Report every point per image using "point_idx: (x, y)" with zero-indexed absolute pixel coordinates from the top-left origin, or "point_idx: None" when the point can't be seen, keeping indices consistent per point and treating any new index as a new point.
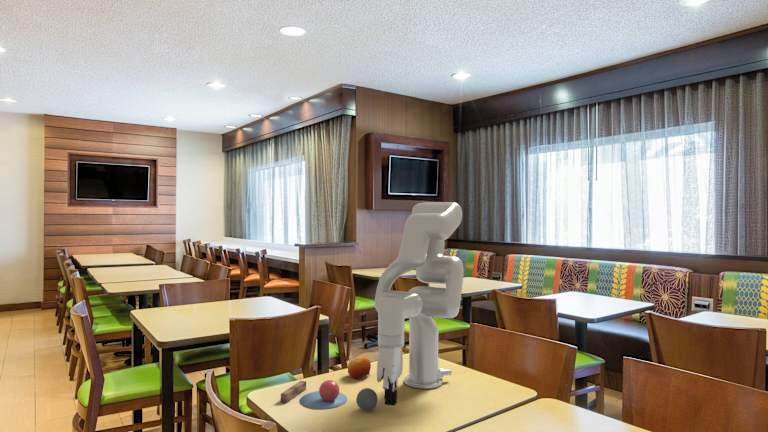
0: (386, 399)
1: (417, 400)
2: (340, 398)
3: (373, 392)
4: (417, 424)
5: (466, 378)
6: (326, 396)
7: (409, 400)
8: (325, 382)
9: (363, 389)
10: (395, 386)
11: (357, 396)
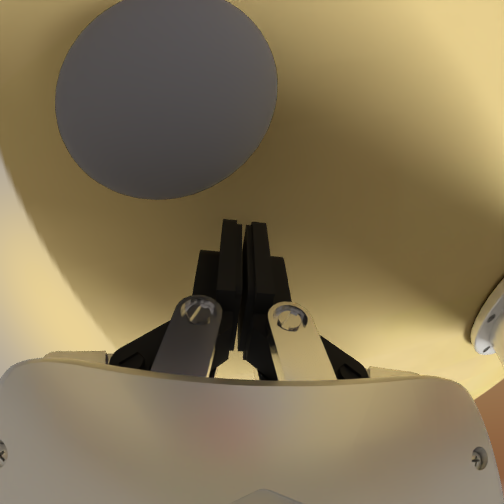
0: (199, 259)
1: (376, 320)
2: None
3: (131, 189)
4: (121, 345)
5: (495, 370)
6: None
7: (380, 294)
8: None
9: (115, 59)
10: (255, 378)
11: (99, 15)
